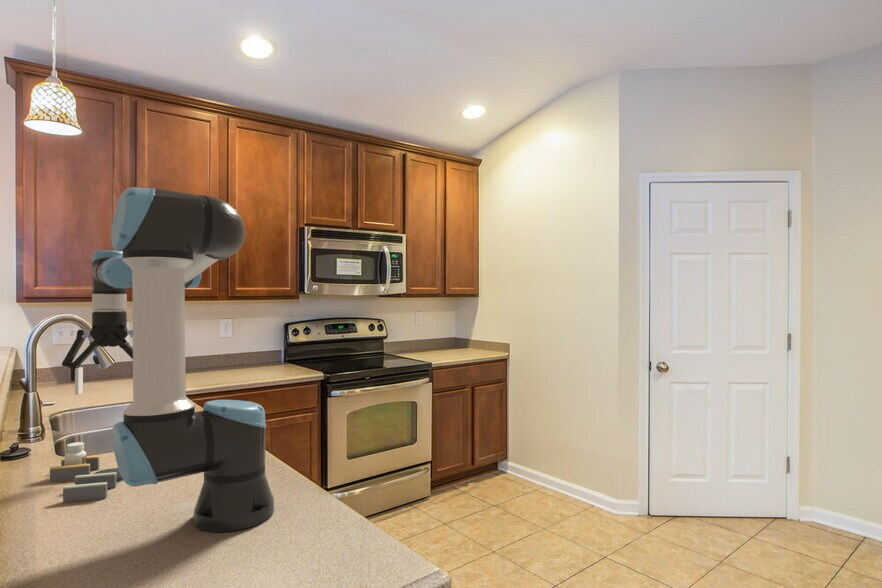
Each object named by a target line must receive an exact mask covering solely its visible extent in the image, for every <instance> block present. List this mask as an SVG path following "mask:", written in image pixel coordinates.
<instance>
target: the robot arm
mask: <svg viewBox="0 0 882 588" xmlns="http://www.w3.org/2000/svg"><path fill="white" fill-rule="evenodd" d="M111 225H112V227H111V233H110V235H111V238H110V239H111V246H112V249H114V250H112V249H111V250H108V249H107V250H106V249H103V250H99V249H98V250H94V251H93V253H92V258H91V259H92V260H91V266H92V267H91V273H92V275H91V276H92V282H91V283H92V285H91V286H92V289H91V290H92V294H91V308H92V310H94V311H93V312H91V329H90V330H89V329H85V328H82V329H78V330H77V332H76V338H75V340H74V341H73V343H72V345H71V347H70V349H69V350H68V352H67V354H66V355H65V358H63V361H62V362H61V366H62V367H67V368H70V380H71V382H74V395H75V396H76V395H78V396H79V395H80V394H82V393H83V392H84V386H83V385H84V367H82V366H81V365H82V364H83V362H85V361H86V360H87V359H88V357H90V355H91V354H92V353H94V352H95V350H96V349H97V348H99V347H101V348H105V347H110V348H114V347H119V348H120V349H122V350H123V351H124V352H125V353H126V354H127V355H128V356H129V357H130V359H132V397H133V398H132V402H131V403H130V404H129V405H128V406H127V407H126V408H124V410H123V413H122V414H123V416H122V417H123V421H118V422H117V423H115V424H114V425H113V426H112V437H111V438H112V446H113V447H112V448H113V451H114V452H113V453H114V457H115V461H116V465H117V468H118V469H119V472H120V474H121V477H122V479H123V480H122V481H124V483H125V484H126V485H128V486H129V487H135V488H136V487H141V486H146V485H147V486H148V485H157V484H158V483H162V482H166V481H167V482H168V481H172V480H174V479H175V480H176V479H180V478H185V477H188V476H192V475H197V474H202V473H203V483H202V486H201V489H200V492H199V494H198V498H197V501H196V504H195V507H194V508H193V509H194V510H193V524H194V526H195V527H196V528H198V529H199V530H202V531H205V532H213V533H227V532H234V531H235V532H236V531H240V530H244V529H248V528H251V527H254V526H257V525H259V524H261V523H264V522H266V521H267V520H269V518H271V517H272V516H273V514H274V512H275V499H274V496H273V492H272V490H271V486H270V484H269V481H268V477H267V476H266V436H267V435H266V433H267V431H266V428H267V424H266V410H265V409H264V407H263V406H262V405H261V404H259V403H256V402H253V401H249V400H241V399H239V400H237V399H236V400H235V399H214V400H209V401H205V402H204V404H203V406H202V410H199V411H196V409H195V405H196V404H195V403H194V402H193V401H191V399H190V398H188V396H187V395H186V394H187V393H186V392H187V391H186V390H187V389H186V379H187V378H186V376H187V375H186V311H185V310H186V305H185V304H186V303H185V302H186V299H185V298H186V297H185V296H186V295H185V294H186V293H185V292H186V291H185V290H186V289H196V288H197V287H198V286H199V285H200V282H201V279H202V273H203V272H204V271H206V270H207V269H208V268H209V267H211V266H212V265H214V263H216V262H217V261H222V260H226V259H229V258H230V257H231V258H232V256H233V255H235V254H236V253H237V252H238V251H240V249H241V248H242V246H243V245H244V243H245V239H246V227H245V223H244V220H243V218H242V217H241V215H240V214H239V212H238V211H237V210H236V209H235V208H234V207H233V206H232V205H231V204H230V203H228V202H227V201H225V200H222V199H221V198H218V197H215V196H212V195H206V194H205V195H204V194H203V195H202V194H195V193H189V192H182V191H181V192H180V191H174V190H168V189H161V188H155V187H151V188H149V187H134V186H133V187H128V188H126V189H124V190H123V192H122V193H121V195H120V196H119V198H118V200H117V204H116V206H115V210H114V214H113V220H112V224H111ZM127 289H132V329H130V330H129V329H128V327H127V322H128V321H127V320H128V319H127V316H128V315H127V314H128V313H127V311H125V310H126V309H127V305H128V304H127V303H128V302H127V298H128V295H127ZM128 335H129V337H130V338H132V345H130V343H129V341H127V340H126V337H128ZM89 336H90V337H91V338H92V341H91V343H89V345H88V346H87V347H86V348H85V350H84V351H82V353H80V354H79V356H78V357H77V358H76V356H77V354H78V353H79V351H80V350H81V348H82V345H83V344H84V342H85V340H86V339H87V338H88V337H89ZM75 358H76V359H75ZM80 366H81V367H80Z"/></svg>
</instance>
